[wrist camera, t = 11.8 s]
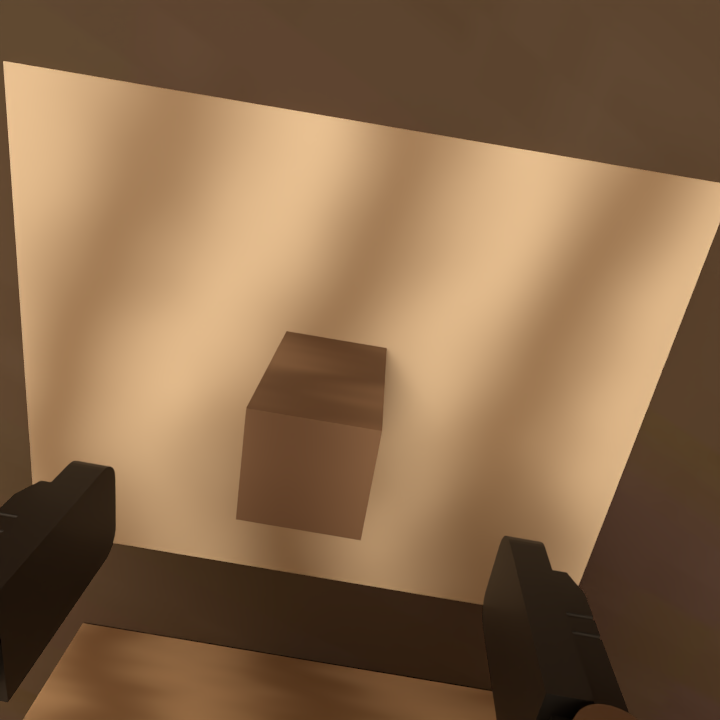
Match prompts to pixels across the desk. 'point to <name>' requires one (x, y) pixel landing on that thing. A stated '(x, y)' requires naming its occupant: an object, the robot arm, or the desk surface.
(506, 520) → the lid
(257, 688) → the box
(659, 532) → the desk surface
